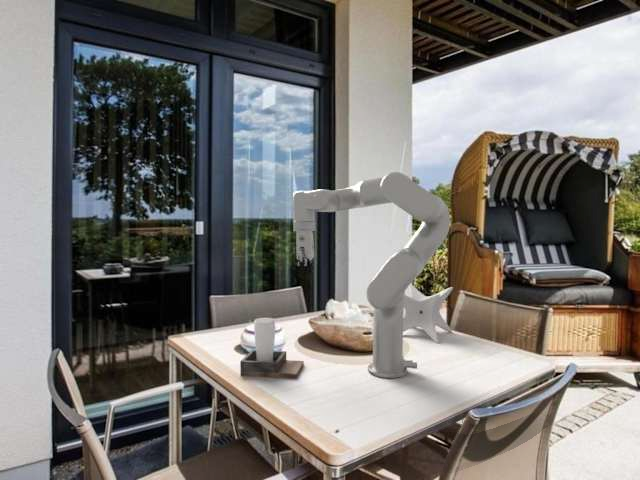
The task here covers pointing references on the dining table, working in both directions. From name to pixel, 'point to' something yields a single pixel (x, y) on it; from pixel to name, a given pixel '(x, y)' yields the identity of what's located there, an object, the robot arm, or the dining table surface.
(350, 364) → the dining table surface
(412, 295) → the grey spiky star shape
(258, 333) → the white cup
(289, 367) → the open box
